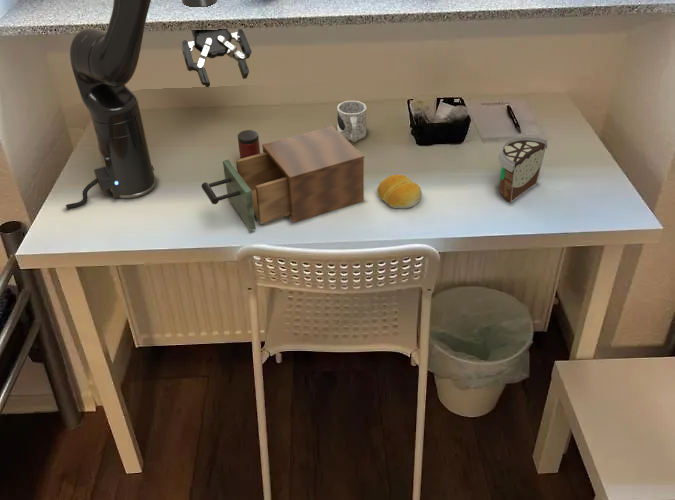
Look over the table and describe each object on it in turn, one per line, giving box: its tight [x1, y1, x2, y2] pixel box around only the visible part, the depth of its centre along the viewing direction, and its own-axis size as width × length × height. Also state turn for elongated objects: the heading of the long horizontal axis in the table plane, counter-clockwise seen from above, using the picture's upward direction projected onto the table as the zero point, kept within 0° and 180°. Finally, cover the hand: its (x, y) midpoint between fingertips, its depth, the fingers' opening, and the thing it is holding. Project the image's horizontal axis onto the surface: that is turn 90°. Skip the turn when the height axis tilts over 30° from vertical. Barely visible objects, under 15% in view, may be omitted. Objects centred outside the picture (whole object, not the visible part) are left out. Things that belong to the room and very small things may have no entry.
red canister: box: [237, 129, 261, 159], centre depth 152 cm, size 4×4×7 cm
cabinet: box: [261, 125, 365, 224], centre depth 141 cm, size 16×14×11 cm
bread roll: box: [376, 173, 422, 209], centre depth 142 cm, size 8×9×4 cm
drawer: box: [201, 152, 291, 231], centre depth 137 cm, size 20×12×9 cm, turn 117°
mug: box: [336, 100, 367, 143], centre depth 160 cm, size 10×7×7 cm, turn 4°
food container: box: [497, 136, 548, 204], centre depth 142 cm, size 12×6×10 cm, turn 134°
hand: (227, 81), depth 153 cm, fingers open, 8 cm apart
